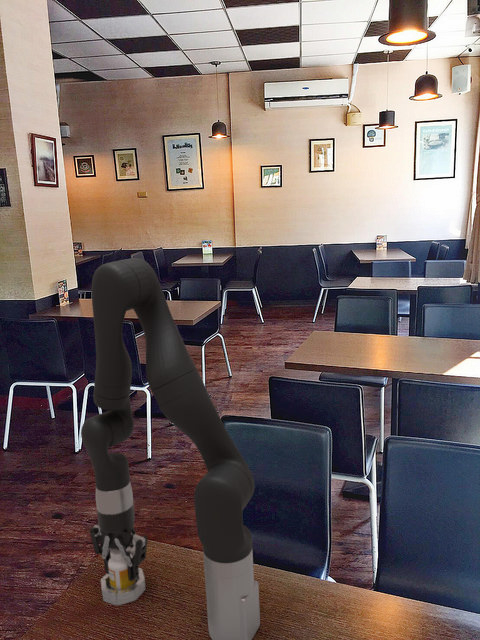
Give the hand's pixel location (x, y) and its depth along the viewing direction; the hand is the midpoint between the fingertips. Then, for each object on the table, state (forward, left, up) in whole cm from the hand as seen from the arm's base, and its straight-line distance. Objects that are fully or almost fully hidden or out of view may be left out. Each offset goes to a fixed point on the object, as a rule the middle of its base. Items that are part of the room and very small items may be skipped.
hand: (122, 575), depth 111 cm
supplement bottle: (0, 0, -4) cm, 4 cm away
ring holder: (0, 0, -4) cm, 4 cm away
